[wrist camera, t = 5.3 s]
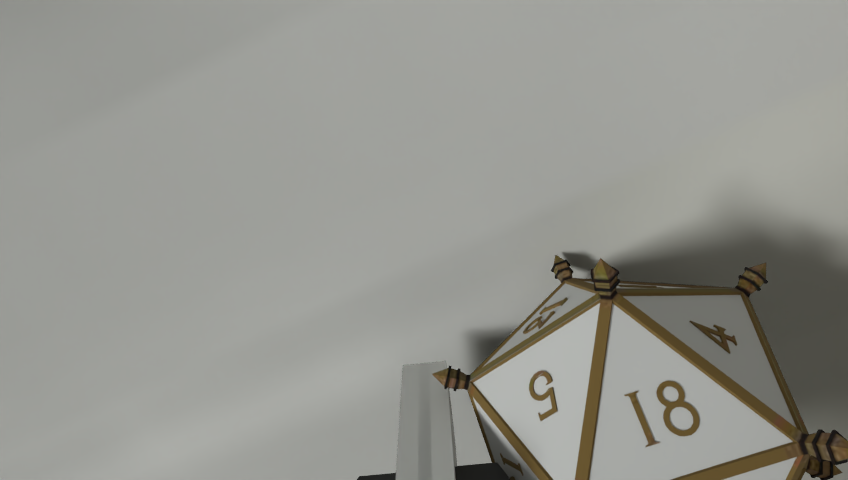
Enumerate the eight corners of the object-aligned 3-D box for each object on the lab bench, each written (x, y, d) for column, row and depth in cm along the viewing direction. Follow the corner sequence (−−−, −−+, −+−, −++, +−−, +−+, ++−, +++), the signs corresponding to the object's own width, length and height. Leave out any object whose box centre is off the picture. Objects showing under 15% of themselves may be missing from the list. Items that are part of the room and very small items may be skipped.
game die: (567, 243, 20) (892, 156, 12) (648, 469, 20) (1041, 554, 11) (344, 328, 16) (590, 293, 7) (441, 617, 16) (818, 938, 7)
